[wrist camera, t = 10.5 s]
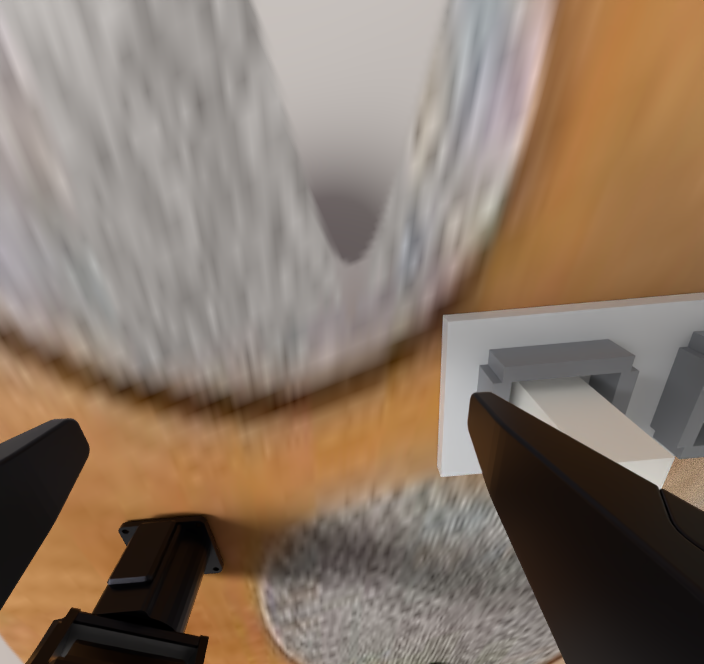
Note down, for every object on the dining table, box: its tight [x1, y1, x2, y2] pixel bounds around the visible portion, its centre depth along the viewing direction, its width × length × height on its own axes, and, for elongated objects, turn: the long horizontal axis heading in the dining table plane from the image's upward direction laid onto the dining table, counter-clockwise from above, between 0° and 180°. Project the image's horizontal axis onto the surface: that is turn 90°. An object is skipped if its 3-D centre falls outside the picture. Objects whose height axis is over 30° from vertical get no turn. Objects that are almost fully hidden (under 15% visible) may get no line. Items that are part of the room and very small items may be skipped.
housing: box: [437, 292, 704, 477], centre depth 19 cm, size 12×24×8 cm, turn 94°
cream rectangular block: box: [509, 376, 675, 489], centre depth 18 cm, size 4×4×7 cm
